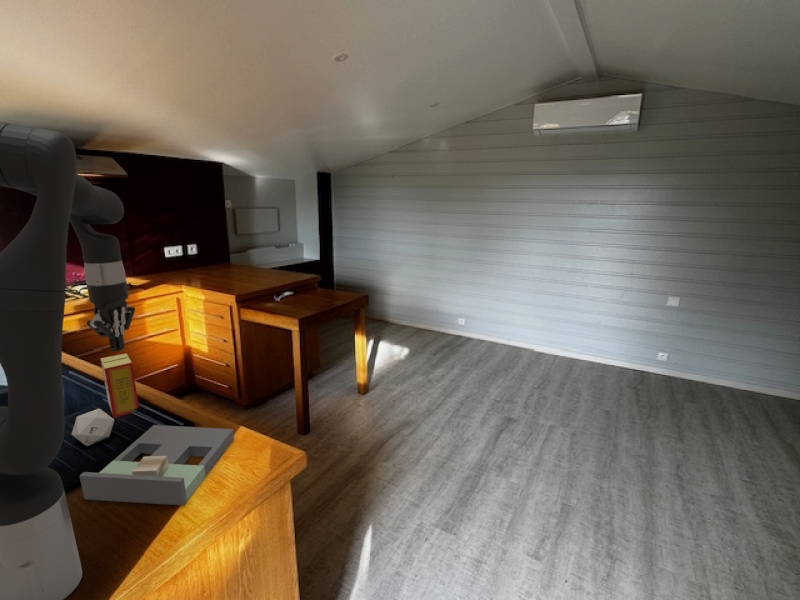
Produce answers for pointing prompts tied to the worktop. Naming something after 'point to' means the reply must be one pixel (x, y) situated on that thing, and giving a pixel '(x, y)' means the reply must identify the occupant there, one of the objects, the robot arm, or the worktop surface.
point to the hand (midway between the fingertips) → (118, 350)
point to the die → (92, 427)
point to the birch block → (151, 466)
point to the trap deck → (176, 479)
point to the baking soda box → (119, 384)
